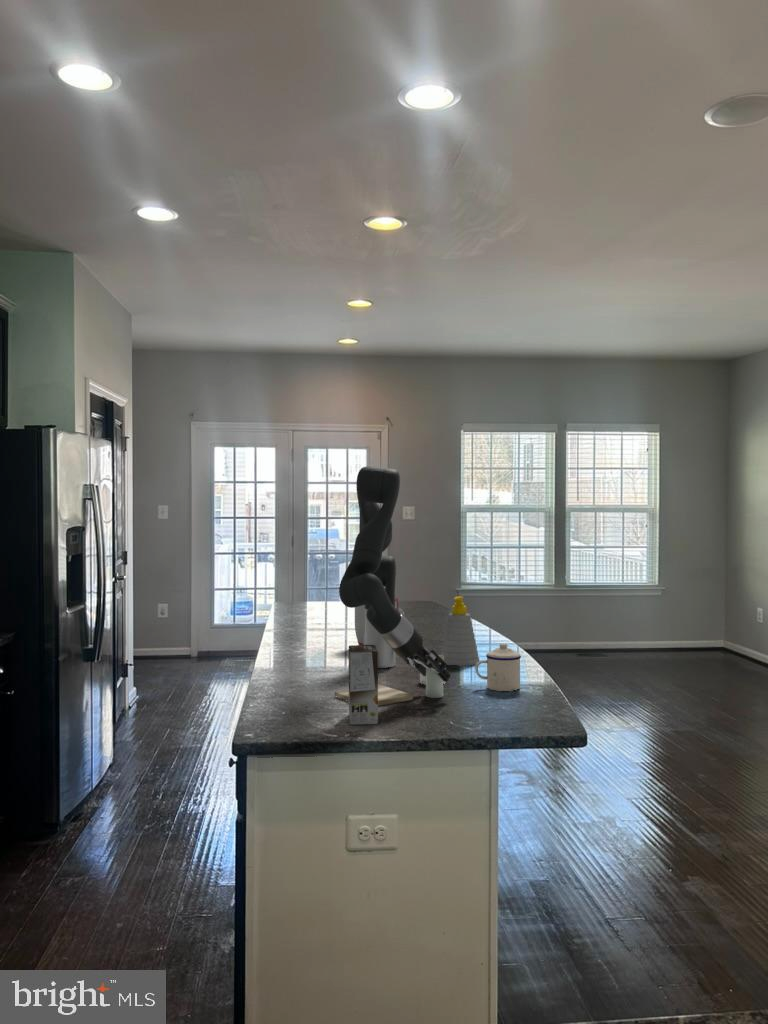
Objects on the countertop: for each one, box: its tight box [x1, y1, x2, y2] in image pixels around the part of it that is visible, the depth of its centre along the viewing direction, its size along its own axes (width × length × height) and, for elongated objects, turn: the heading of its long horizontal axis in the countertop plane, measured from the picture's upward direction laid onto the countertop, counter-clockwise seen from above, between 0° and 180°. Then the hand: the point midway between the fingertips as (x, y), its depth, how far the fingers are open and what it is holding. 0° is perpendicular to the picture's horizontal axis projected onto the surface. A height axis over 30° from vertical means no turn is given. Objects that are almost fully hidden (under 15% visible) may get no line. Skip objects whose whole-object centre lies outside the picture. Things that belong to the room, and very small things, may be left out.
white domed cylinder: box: [419, 667, 447, 686], centre depth 210 cm, size 7×7×4 cm
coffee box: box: [348, 644, 379, 726], centre depth 173 cm, size 9×6×16 cm
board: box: [334, 684, 414, 707], centre depth 193 cm, size 14×14×1 cm
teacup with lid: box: [474, 643, 522, 692], centre depth 204 cm, size 12×9×12 cm
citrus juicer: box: [354, 597, 405, 645], centre depth 265 cm, size 16×17×20 cm
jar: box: [425, 654, 444, 699], centre depth 195 cm, size 5×5×10 cm
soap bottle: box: [440, 596, 481, 667], centre depth 239 cm, size 12×12×20 cm
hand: (437, 676), depth 196 cm, fingers open, 8 cm apart
